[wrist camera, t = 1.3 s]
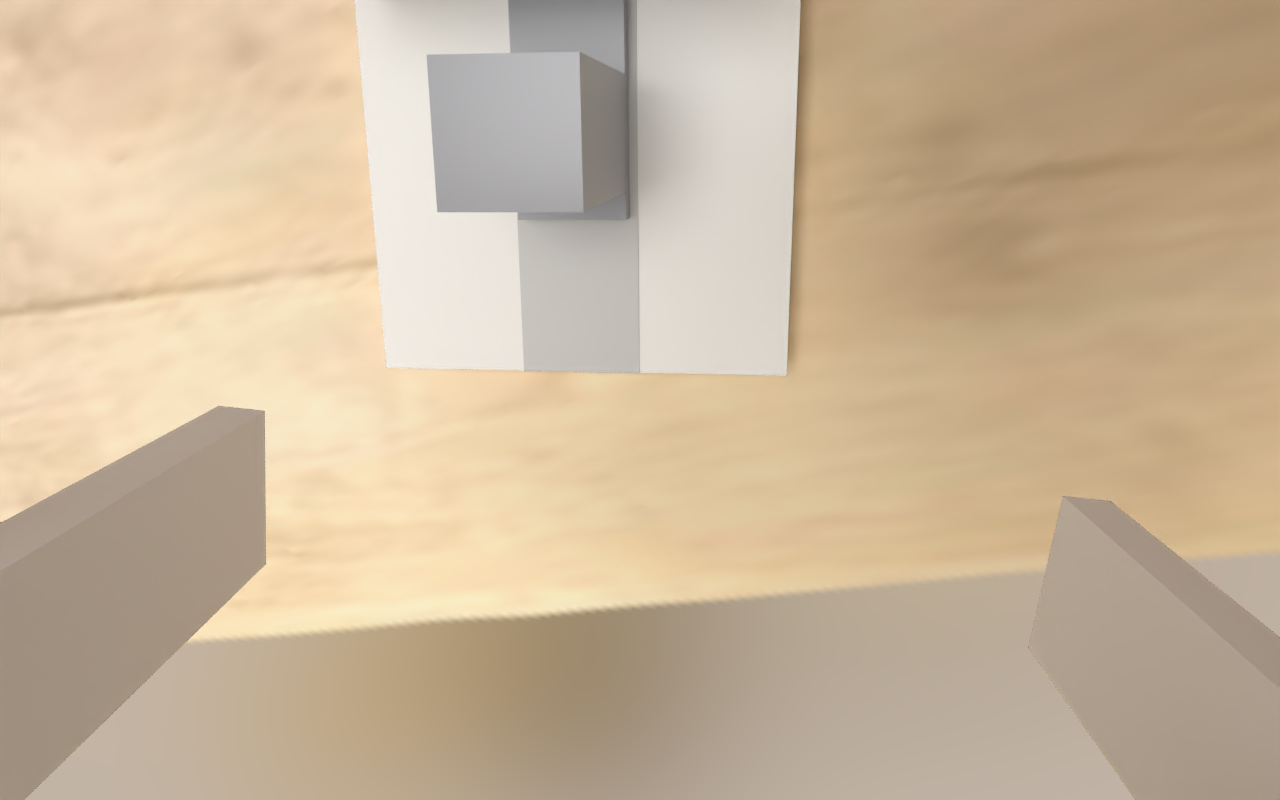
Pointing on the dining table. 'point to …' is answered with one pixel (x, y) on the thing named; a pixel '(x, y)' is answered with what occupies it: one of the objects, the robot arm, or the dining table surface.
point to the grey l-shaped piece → (537, 116)
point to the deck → (597, 249)
